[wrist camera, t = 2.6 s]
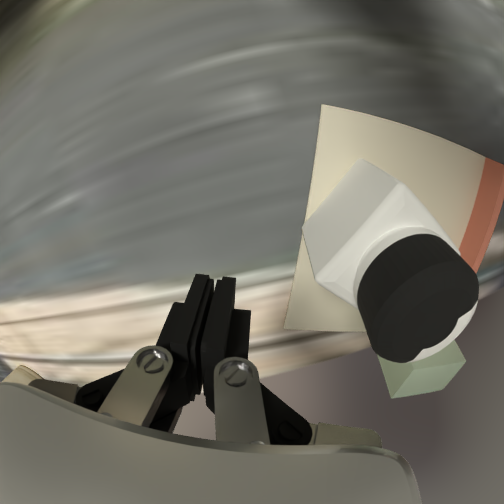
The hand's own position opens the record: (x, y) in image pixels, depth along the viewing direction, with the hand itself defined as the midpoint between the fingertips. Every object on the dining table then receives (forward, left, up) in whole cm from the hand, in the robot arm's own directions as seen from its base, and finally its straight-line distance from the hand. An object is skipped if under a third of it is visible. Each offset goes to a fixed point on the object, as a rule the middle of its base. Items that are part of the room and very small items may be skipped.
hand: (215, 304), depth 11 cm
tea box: (+8, +17, -10) cm, 21 cm away
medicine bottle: (-1, +10, -10) cm, 14 cm away
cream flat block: (+1, +14, -10) cm, 17 cm away
